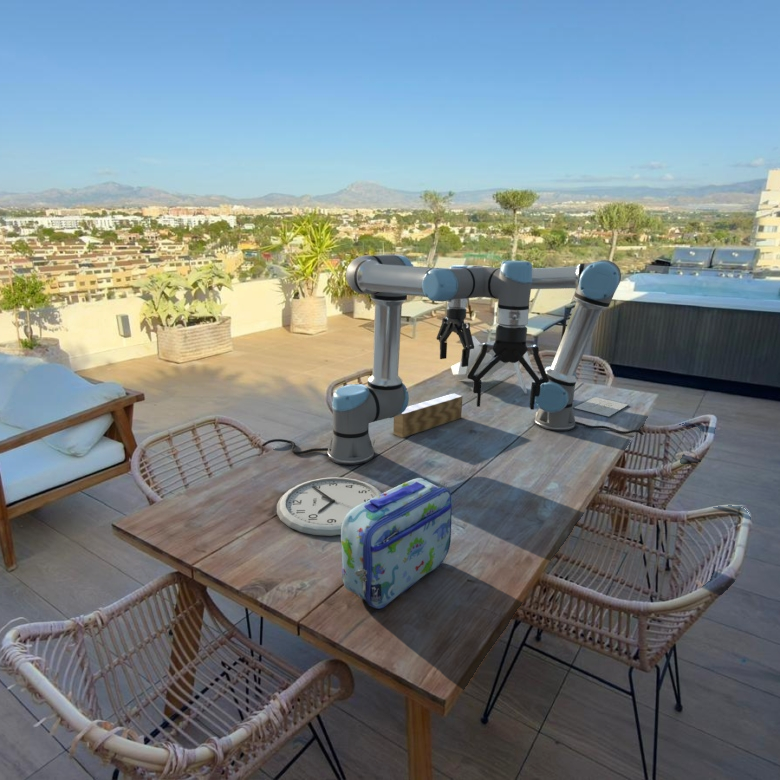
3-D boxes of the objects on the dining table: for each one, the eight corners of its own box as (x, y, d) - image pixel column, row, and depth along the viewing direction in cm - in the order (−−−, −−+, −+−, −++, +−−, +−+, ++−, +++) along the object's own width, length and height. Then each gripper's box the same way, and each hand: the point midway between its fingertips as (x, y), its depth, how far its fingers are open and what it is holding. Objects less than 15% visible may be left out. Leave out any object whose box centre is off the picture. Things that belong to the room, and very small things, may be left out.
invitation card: (608, 416, 214) (573, 407, 224) (608, 416, 214) (573, 408, 224) (628, 404, 229) (594, 396, 238) (628, 405, 229) (594, 397, 238)
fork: (423, 514, 139) (423, 507, 138) (438, 487, 153) (439, 481, 152) (432, 516, 138) (433, 509, 137) (447, 489, 152) (448, 483, 152)
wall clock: (392, 527, 129) (268, 531, 127) (391, 533, 130) (269, 537, 127) (383, 473, 158) (282, 475, 155) (383, 478, 158) (282, 480, 156)
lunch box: (370, 622, 101) (370, 527, 94) (335, 595, 108) (333, 505, 102) (455, 565, 118) (460, 481, 112) (420, 544, 125) (423, 465, 119)
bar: (452, 414, 214) (453, 393, 211) (461, 417, 210) (462, 396, 207) (393, 433, 193) (393, 410, 190) (402, 437, 189) (402, 414, 187)
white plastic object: (472, 423, 260) (450, 400, 235) (454, 348, 282) (432, 320, 258) (544, 398, 248) (529, 371, 223) (519, 323, 270) (503, 291, 245)
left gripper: (461, 326, 127) (456, 408, 133) (566, 330, 124) (556, 414, 130) (460, 320, 134) (456, 399, 140) (560, 324, 131) (551, 404, 138)
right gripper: (429, 303, 205) (427, 356, 211) (470, 313, 184) (466, 371, 191) (444, 302, 208) (442, 354, 215) (486, 311, 188) (482, 368, 194)
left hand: (504, 406), depth 135 cm, fingers open, 13 cm apart
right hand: (453, 362), depth 203 cm, fingers open, 13 cm apart
